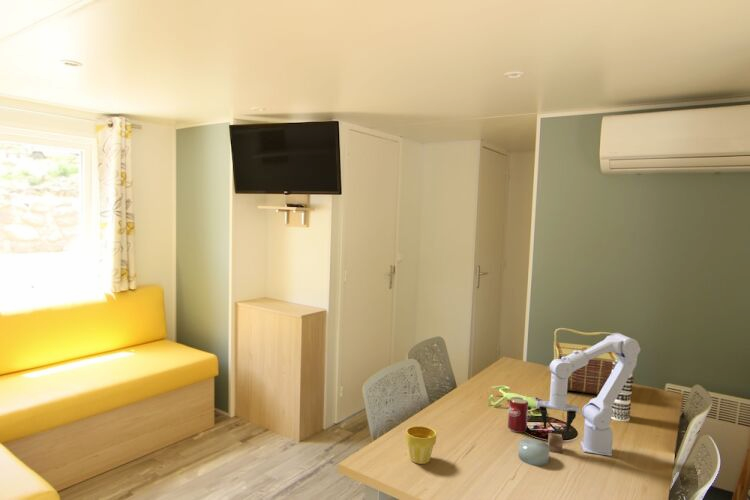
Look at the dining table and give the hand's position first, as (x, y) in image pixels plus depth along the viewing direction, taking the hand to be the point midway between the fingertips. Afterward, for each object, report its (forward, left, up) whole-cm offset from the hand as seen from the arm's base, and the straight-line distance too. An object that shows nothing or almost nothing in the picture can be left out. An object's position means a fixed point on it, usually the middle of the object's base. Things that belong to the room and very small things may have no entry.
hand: (555, 429), depth 175 cm
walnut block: (0, 0, -8) cm, 8 cm away
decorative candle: (-30, -41, -8) cm, 51 cm away
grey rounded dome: (+8, +10, -8) cm, 15 cm away
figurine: (+13, -40, -8) cm, 43 cm away
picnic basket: (-20, -75, -8) cm, 78 cm away
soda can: (+13, -13, -8) cm, 20 cm away
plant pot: (+46, +24, -8) cm, 52 cm away
